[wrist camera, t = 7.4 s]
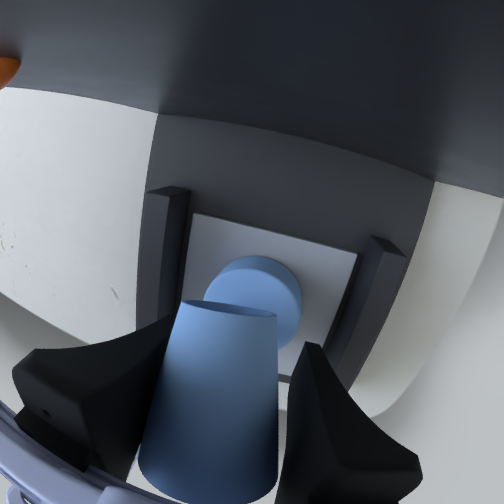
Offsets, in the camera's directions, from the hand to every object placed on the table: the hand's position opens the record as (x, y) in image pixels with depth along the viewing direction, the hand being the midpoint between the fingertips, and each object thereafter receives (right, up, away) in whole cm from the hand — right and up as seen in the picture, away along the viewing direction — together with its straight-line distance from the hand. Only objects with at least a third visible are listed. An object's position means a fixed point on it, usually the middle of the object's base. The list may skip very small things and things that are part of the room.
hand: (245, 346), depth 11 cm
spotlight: (+1, +1, +3) cm, 4 cm away
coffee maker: (+2, +5, +3) cm, 6 cm away
